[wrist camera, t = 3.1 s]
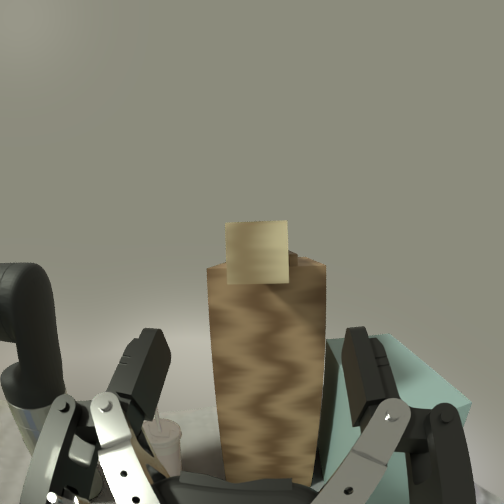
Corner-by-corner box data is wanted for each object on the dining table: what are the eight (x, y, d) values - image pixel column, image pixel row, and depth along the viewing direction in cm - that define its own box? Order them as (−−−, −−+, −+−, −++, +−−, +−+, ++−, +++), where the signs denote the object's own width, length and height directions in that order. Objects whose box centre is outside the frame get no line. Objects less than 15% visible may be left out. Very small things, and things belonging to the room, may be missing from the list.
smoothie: (168, 492, 26) (147, 424, 26) (142, 471, 30) (120, 403, 30) (199, 473, 31) (186, 405, 31) (172, 456, 35) (157, 389, 35)
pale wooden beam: (226, 284, 16) (224, 221, 16) (259, 258, 48) (259, 237, 48) (289, 283, 16) (288, 218, 15) (280, 257, 47) (280, 236, 47)
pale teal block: (333, 542, 16) (370, 430, 16) (317, 444, 38) (326, 339, 38) (410, 524, 15) (471, 402, 15) (372, 437, 37) (389, 333, 37)
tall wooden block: (226, 485, 29) (206, 256, 28) (242, 417, 49) (235, 252, 48) (310, 486, 28) (325, 253, 27) (302, 416, 48) (305, 249, 47)
